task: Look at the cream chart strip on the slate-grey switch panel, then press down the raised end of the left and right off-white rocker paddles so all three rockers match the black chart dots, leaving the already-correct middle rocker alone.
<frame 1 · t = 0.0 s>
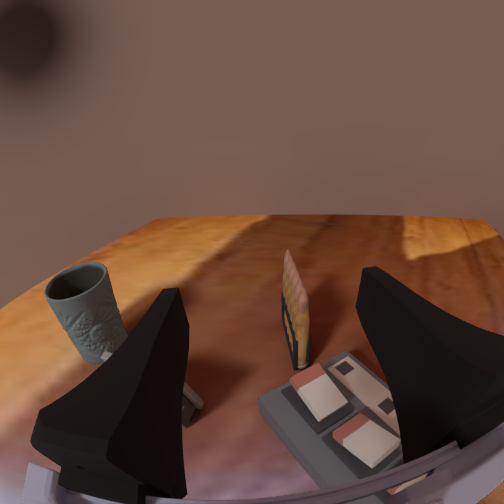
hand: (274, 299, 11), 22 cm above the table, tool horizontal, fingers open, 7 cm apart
ammunition clip: (294, 342, 38), on the table
electrical switch: (164, 413, 28), on the table
switch panel: (365, 451, 22), on the table
grey cup: (103, 345, 39), on the table
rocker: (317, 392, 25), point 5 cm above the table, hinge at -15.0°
rocker middle: (365, 440, 19), point 5 cm above the table, hinge at 15.0°
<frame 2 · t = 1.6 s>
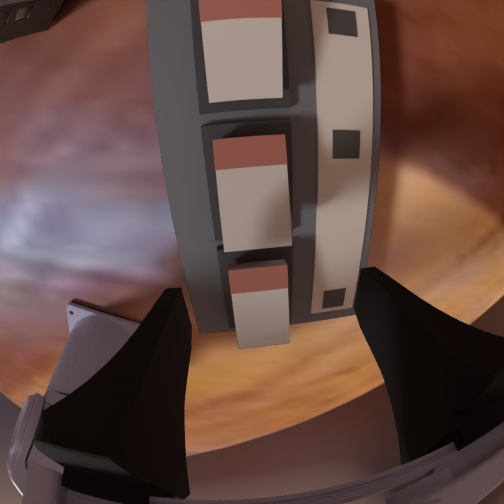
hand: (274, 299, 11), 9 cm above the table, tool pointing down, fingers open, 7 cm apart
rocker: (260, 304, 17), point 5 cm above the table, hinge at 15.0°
electrical switch: (31, 6, 9), on the table
switch panel: (270, 164, 18), on the table
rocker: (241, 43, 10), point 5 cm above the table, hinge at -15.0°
rocker middle: (252, 192, 14), point 5 cm above the table, hinge at 15.0°
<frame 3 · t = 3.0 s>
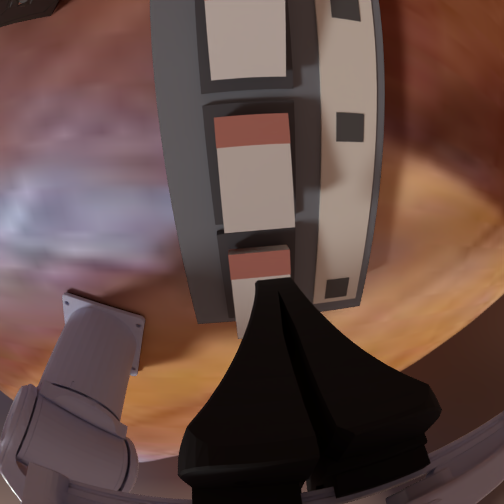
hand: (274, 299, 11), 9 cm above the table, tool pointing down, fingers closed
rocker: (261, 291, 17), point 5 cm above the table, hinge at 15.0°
switch panel: (272, 149, 17), on the table
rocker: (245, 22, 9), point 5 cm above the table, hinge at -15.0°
rocker middle: (254, 172, 13), point 5 cm above the table, hinge at 15.0°
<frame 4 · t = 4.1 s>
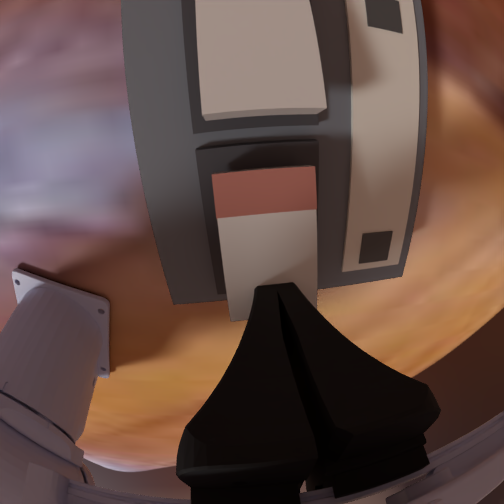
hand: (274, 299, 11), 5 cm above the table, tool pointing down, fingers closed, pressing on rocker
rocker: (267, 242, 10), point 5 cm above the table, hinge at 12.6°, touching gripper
switch panel: (277, 52, 11), on the table
rocker middle: (254, 34, 7), point 5 cm above the table, hinge at 15.0°
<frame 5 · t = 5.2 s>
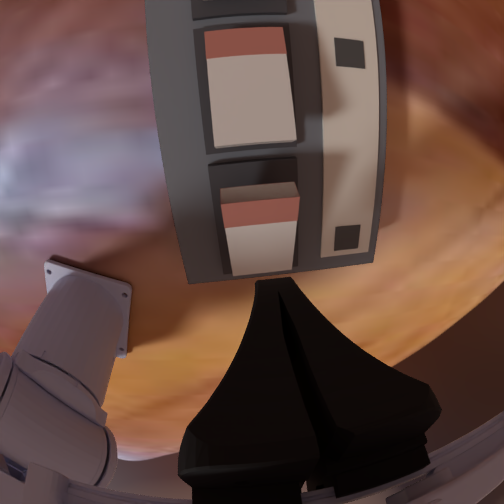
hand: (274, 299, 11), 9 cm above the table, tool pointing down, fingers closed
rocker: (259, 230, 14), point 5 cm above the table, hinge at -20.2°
switch panel: (268, 85, 15), on the table
rocker middle: (248, 85, 11), point 5 cm above the table, hinge at 15.0°
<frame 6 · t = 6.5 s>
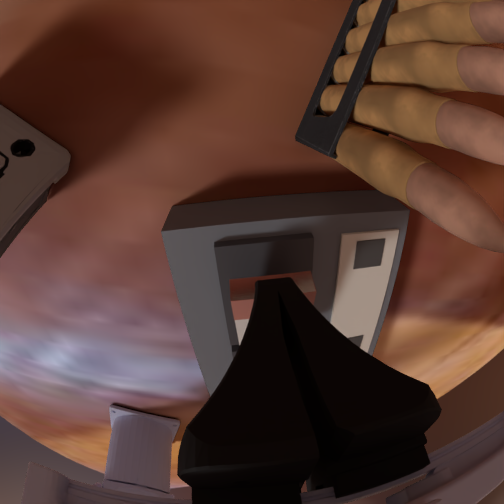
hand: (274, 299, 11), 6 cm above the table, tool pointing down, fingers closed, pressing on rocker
ammunition clip: (345, 58, 12), on the table
electrical switch: (16, 158, 12), on the table
switch panel: (284, 337, 21), on the table
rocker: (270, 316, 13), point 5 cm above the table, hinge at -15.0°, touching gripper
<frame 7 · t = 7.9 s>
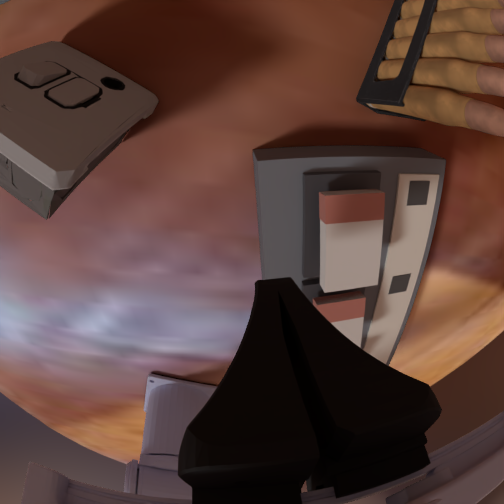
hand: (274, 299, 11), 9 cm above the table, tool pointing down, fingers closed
ammunition clip: (391, 42, 13), on the table
electrical switch: (88, 102, 14), on the table
switch panel: (337, 284, 22), on the table
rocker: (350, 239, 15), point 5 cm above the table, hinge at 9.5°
rocker middle: (336, 330, 18), point 5 cm above the table, hinge at 15.0°
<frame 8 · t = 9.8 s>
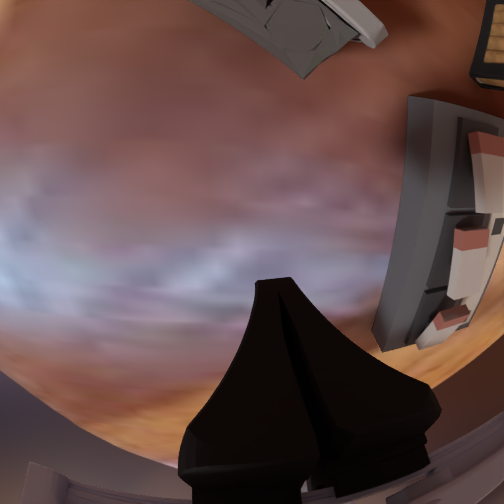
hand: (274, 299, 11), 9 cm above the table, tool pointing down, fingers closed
ammunition clip: (485, 37, 12), on the table
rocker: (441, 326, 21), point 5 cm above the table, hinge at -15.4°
electrical switch: (259, 16, 13), on the table
switch panel: (447, 230, 21), on the table
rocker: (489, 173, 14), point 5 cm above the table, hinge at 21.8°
rocker middle: (467, 261, 17), point 5 cm above the table, hinge at 15.0°
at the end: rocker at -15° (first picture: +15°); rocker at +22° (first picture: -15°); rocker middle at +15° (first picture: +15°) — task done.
